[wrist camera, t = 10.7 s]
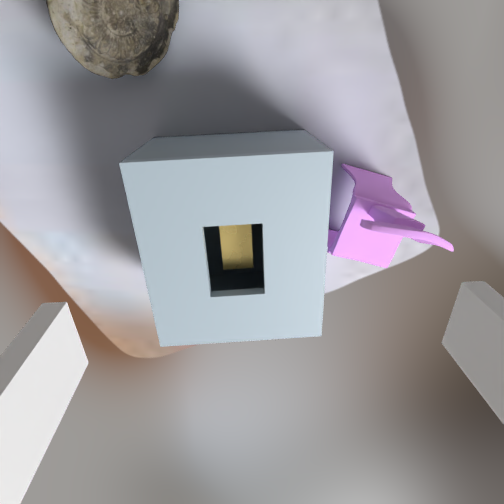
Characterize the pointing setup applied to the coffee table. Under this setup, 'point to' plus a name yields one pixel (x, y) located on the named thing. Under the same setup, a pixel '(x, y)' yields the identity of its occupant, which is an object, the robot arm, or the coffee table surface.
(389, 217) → the toy chair
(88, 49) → the fossil
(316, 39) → the coffee table surface
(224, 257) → the block
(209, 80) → the coffee table surface
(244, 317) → the coin box
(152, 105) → the coffee table surface
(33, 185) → the coffee table surface
